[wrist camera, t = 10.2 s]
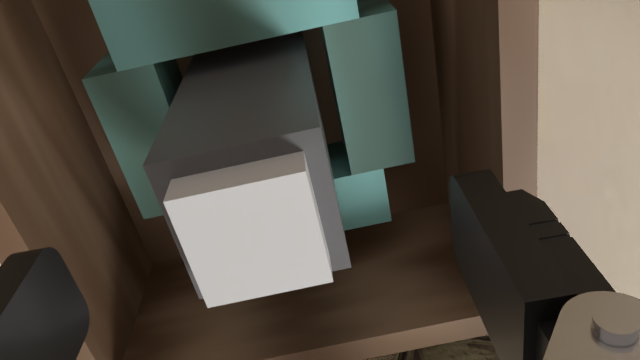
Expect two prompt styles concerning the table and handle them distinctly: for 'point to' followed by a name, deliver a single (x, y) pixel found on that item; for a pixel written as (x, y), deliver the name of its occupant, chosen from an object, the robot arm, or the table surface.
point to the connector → (249, 174)
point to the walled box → (343, 146)
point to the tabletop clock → (454, 351)
